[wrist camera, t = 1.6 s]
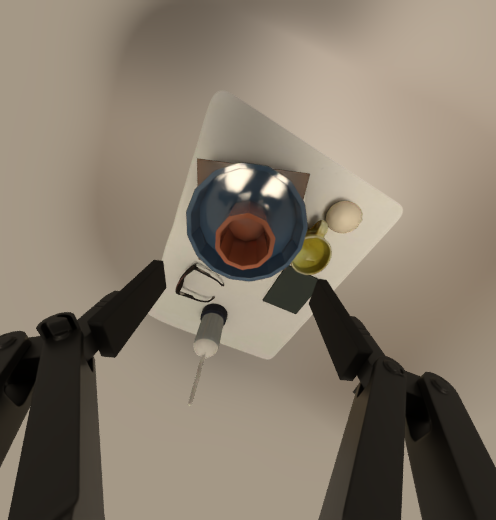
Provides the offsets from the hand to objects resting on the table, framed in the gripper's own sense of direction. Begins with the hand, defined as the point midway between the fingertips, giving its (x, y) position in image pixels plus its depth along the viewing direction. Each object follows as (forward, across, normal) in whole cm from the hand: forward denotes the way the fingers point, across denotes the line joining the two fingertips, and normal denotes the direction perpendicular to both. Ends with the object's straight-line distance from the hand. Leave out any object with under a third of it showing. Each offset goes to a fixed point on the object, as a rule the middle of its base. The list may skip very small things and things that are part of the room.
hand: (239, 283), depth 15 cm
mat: (+30, +16, -22) cm, 40 cm away
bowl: (+19, 0, 0) cm, 19 cm away
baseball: (+30, +21, +2) cm, 37 cm away
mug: (+30, +15, -5) cm, 34 cm away
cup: (+19, 0, 0) cm, 19 cm away
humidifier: (+30, -7, -34) cm, 46 cm away
